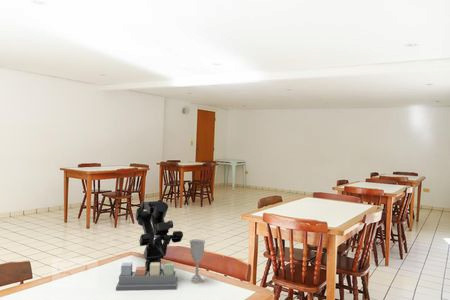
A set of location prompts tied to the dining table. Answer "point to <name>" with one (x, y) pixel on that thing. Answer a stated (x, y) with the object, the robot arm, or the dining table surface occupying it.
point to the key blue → (126, 269)
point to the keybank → (147, 282)
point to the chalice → (197, 256)
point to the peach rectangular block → (141, 271)
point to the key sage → (168, 268)
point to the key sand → (155, 269)
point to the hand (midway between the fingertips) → (164, 255)
